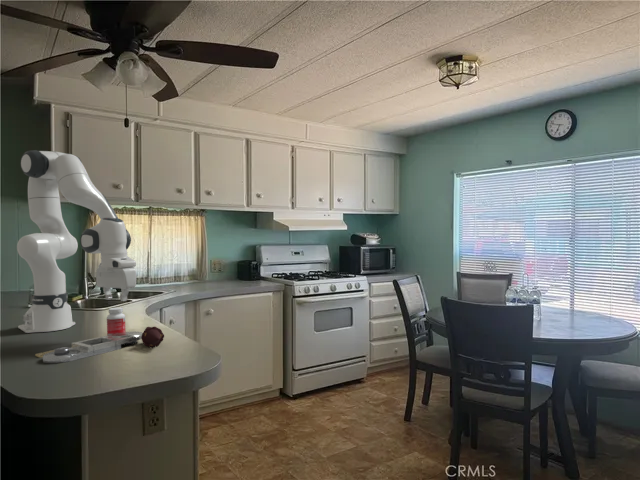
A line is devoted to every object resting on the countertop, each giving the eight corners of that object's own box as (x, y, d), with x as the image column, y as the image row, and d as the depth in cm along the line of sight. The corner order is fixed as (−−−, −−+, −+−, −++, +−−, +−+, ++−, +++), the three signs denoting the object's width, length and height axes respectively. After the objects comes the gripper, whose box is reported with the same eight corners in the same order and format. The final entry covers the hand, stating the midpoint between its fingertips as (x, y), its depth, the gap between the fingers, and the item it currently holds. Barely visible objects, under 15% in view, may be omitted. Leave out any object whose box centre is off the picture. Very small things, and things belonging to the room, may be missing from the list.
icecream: (172, 329, 149) (159, 326, 161) (149, 326, 144) (137, 323, 157) (167, 351, 147) (154, 345, 159) (144, 348, 143) (133, 343, 155)
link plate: (39, 359, 141) (39, 355, 141) (35, 357, 142) (35, 353, 142) (66, 353, 147) (66, 349, 147) (61, 351, 149) (61, 348, 149)
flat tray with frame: (52, 365, 132) (52, 355, 132) (36, 360, 138) (36, 350, 137) (148, 341, 158) (148, 333, 158) (132, 338, 164) (131, 330, 164)
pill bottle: (127, 339, 163) (126, 308, 163) (108, 341, 160) (107, 310, 160) (123, 335, 169) (123, 306, 168) (106, 338, 165) (105, 308, 165)
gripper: (90, 262, 167) (92, 299, 167) (122, 263, 155) (124, 303, 156) (106, 261, 172) (108, 297, 172) (138, 261, 160) (140, 300, 161)
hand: (116, 300), depth 164 cm, fingers open, 8 cm apart
